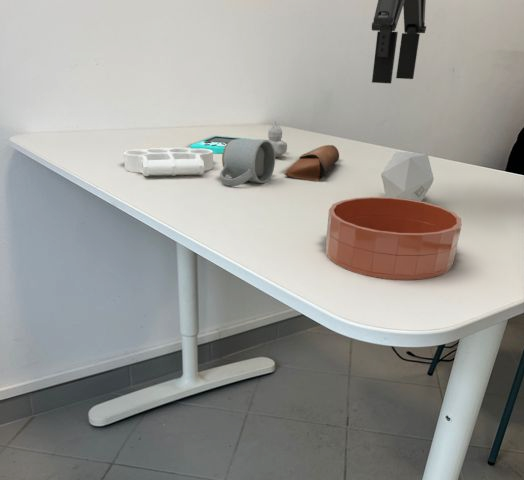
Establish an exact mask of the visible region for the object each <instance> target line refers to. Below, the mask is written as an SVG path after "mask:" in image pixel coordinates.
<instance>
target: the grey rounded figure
mask: <svg viewBox="0 0 524 480" xmlns="http://www.w3.org/2000/svg"><path fill="white" fill-rule="evenodd" d="M267 137H268V139H267V140H268V141H270V142H271V144H272V145H273V148H274V152H275V158H280V157H282V156H283V155H285V154H286V153H287V150H288V144H287V142H285V141H284V140H282V139H283V129H282V128H281V125H280V124H277V122H276V120H274V121H273V124H271V126H270V128H269V130H268V134H267Z"/></svg>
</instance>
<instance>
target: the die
mask: <svg viewBox="0 0 524 480" xmlns="http://www.w3.org/2000/svg"><path fill="white" fill-rule="evenodd" d="M380 175H381V180H382V185H383V190H384V194H385V197H391V198H401V199H410V200H415V201H421V202H423V199H424V198H425V196H426V194H427V193H428V192H429V190H430V188H431V187H432V185H433V183H434V174H433V170H432V166H431V162H430V158H429V154H428V153H420V152H408V151H394V153H393V155H392V156H391V157H390V159H389V161H388V162H387V164H386V165H385V167H384V169H383V170H382V172H381V173H380Z"/></svg>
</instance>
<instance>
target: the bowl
mask: <svg viewBox="0 0 524 480" xmlns="http://www.w3.org/2000/svg"><path fill="white" fill-rule="evenodd" d="M327 215H328V216H327V225H326V227H327V228H326V237H325V254H326V256H327V258H328V259H329V260H330V261H331V262H332V263H333V264H334V265H337V266H338V267H341V269H342V268H343V269H345V270H347V271H349V272H353V273H356V274H360V275H363V276H368V277H373V278H377V279H378V278H379V279H386V280H399V281H413V280H414V281H415V280H425V279H430V278H431V279H432V278H436V277H439V276H441V275H444V274H446V273H448V272H449V271H450V270H451V268H452V267H453V263H454V262H455V256H456V253H457V248H458V243H459V239H460V234H461V230H462V225H463V222H462V221H463V220H462V217H460V216H459V215H458V214H457V213H456V212H454V211H452V210H450V209H447V208H445V207H443V206H440V205H436V204H433V203H429V202H427V201H426V202H425V201H415V200H410V199H401V198H391V197H386V196H365V197H353V198H349V199H343V200H340V201H337V202H335V203H333V204H332V205H331V206H330V208H329V209H328V214H327Z"/></svg>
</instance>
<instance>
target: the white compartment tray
mask: <svg viewBox="0 0 524 480" xmlns="http://www.w3.org/2000/svg"><path fill="white" fill-rule="evenodd" d="M123 163H124V170H125V171H126V172H130V173H137V174H142V176H144V177H150V176H182V175H183V176H184V175H186V176H187V175H189V176H191V175H199V176H202V175H204V174H205V172H207V171H210V170H213V169H214V153H213V151H212V150H209V149H202V148H200V149H190V147H189V148H188V147H151V148H143V149H142V148H141V149H127V150H125V151H124V152H123Z"/></svg>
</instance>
